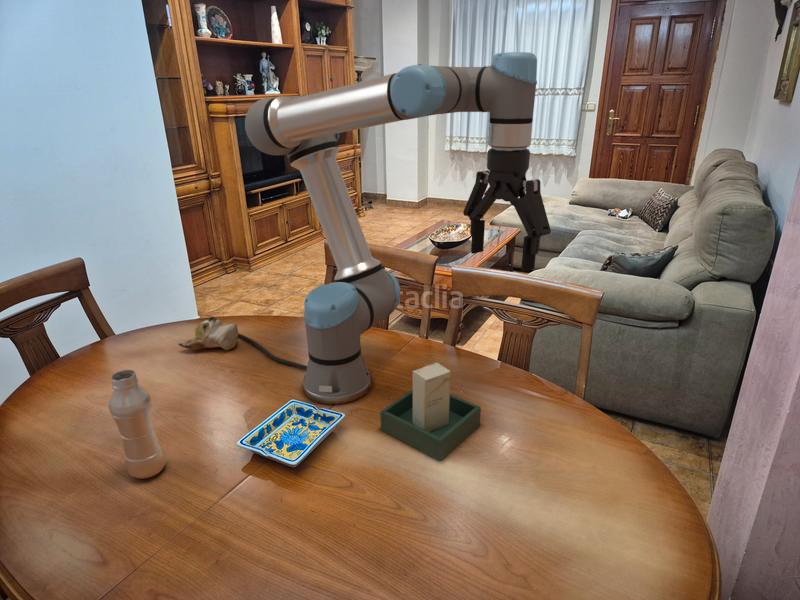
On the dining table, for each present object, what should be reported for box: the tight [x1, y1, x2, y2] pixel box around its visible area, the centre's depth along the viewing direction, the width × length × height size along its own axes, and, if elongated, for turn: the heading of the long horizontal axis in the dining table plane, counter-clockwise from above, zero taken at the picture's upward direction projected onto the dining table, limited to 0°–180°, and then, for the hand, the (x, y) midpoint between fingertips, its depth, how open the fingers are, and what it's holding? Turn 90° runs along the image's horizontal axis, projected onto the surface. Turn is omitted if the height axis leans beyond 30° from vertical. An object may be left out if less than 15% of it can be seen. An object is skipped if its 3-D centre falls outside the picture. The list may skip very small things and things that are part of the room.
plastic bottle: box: [108, 369, 167, 480], centre depth 88 cm, size 6×7×20 cm
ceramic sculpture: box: [178, 317, 239, 351], centre depth 135 cm, size 11×9×15 cm
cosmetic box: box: [412, 362, 451, 432], centre depth 100 cm, size 6×4×12 cm
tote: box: [379, 388, 482, 462], centre depth 102 cm, size 15×14×4 cm
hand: (501, 260), depth 100 cm, fingers open, 13 cm apart
